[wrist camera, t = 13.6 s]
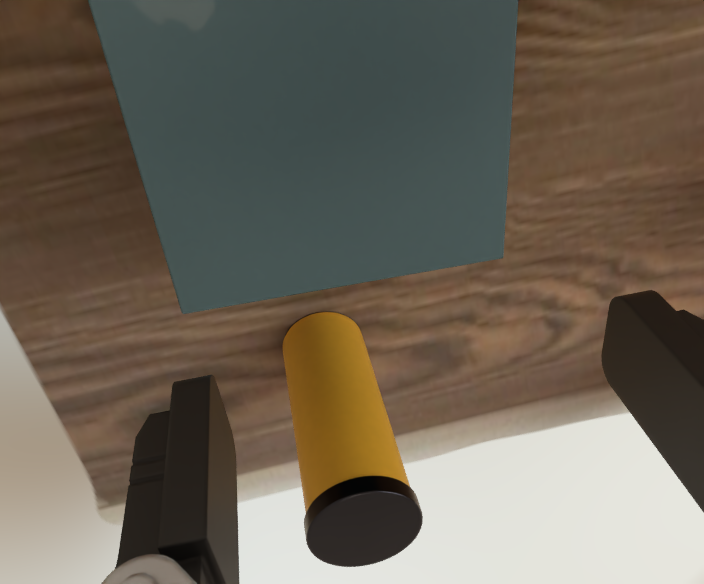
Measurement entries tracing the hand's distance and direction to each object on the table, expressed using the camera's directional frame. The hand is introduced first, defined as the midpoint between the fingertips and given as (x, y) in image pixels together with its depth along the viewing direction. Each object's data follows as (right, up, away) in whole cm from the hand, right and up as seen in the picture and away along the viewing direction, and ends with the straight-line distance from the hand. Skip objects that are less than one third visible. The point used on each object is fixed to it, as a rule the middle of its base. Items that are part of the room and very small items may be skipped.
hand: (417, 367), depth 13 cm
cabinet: (-4, +12, +16) cm, 20 cm away
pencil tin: (-3, -2, +25) cm, 25 cm away
